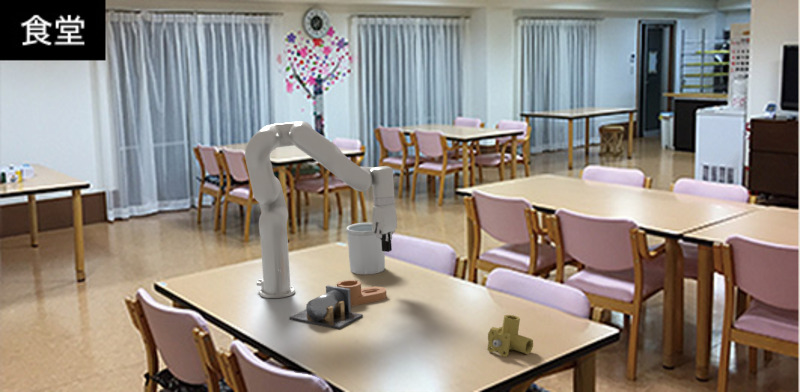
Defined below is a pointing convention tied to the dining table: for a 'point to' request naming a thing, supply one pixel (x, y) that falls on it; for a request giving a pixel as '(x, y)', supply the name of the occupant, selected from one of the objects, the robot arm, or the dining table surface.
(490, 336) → the ball valve
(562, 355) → the dining table surface
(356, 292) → the bracket
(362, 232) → the utensil holder
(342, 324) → the pipe stub
